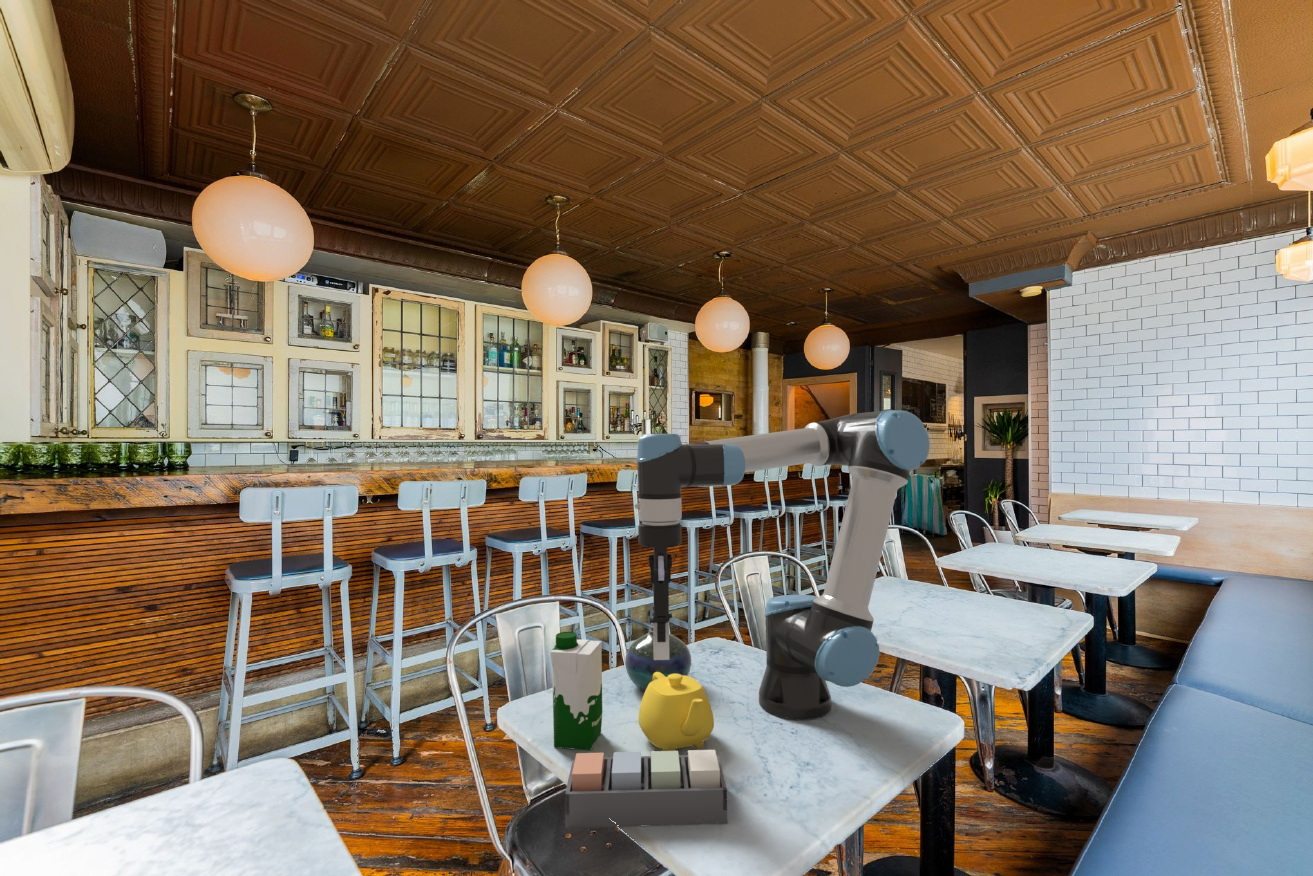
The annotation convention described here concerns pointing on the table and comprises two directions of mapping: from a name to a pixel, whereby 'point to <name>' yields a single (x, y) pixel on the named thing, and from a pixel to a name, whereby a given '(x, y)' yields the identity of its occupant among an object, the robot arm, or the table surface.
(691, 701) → the teapot
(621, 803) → the keypad base
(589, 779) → the key
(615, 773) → the key
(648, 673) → the vase
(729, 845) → the table surface
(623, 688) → the table surface
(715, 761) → the key
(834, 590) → the robot arm
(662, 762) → the key
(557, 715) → the milk carton
